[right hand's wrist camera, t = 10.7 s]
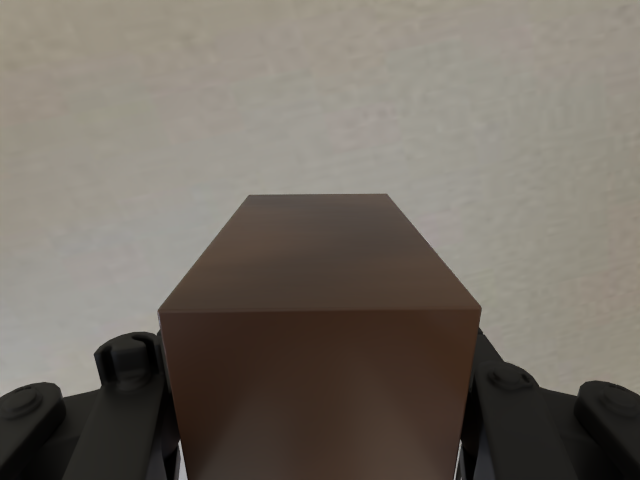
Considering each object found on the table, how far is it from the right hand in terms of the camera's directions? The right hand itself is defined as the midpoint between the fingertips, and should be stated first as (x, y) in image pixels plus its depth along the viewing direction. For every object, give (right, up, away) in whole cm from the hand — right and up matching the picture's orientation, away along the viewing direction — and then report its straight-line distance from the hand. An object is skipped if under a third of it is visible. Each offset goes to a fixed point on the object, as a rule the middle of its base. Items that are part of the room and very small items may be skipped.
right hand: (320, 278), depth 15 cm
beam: (0, -11, +4) cm, 12 cm away
